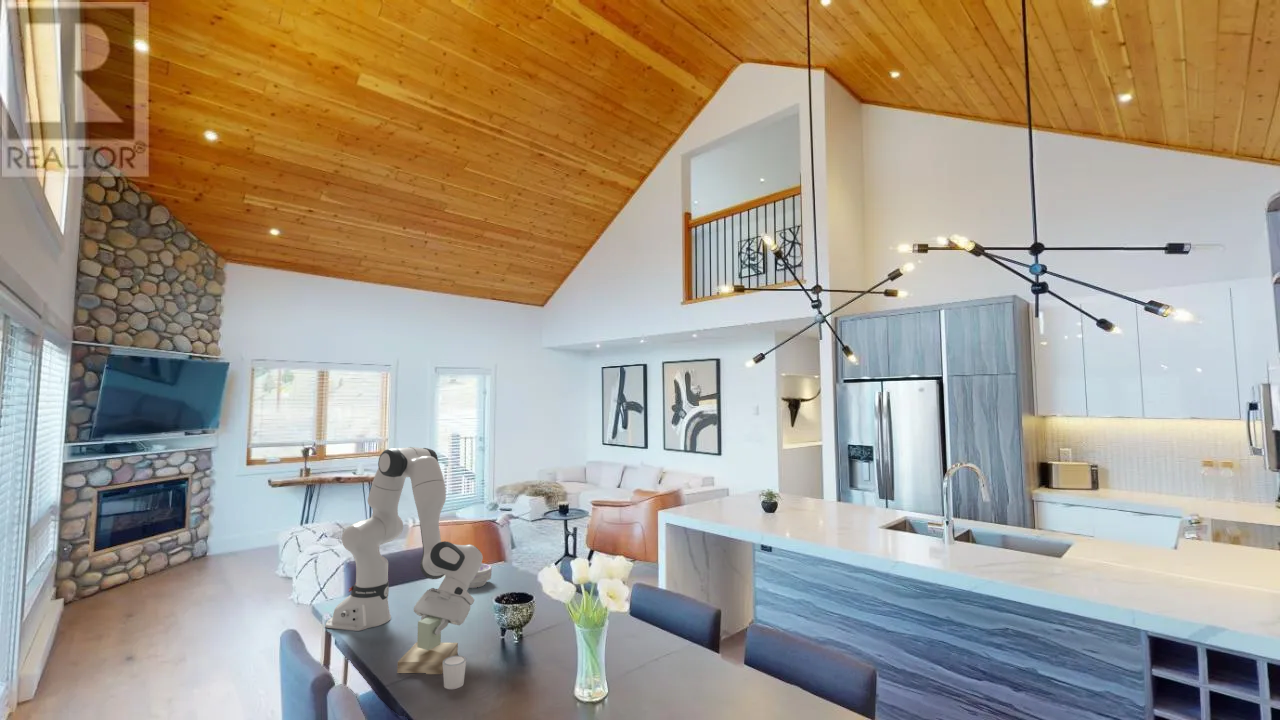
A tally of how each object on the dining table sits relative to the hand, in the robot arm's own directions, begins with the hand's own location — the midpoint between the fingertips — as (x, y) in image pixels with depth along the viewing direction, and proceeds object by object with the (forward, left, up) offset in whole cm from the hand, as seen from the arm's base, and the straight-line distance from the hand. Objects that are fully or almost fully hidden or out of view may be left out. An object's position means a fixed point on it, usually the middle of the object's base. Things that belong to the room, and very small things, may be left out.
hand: (427, 632), depth 180 cm
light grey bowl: (-10, +77, -10) cm, 78 cm away
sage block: (0, +1, -4) cm, 4 cm away
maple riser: (0, +1, -10) cm, 10 cm away
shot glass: (+13, -12, -10) cm, 21 cm away
